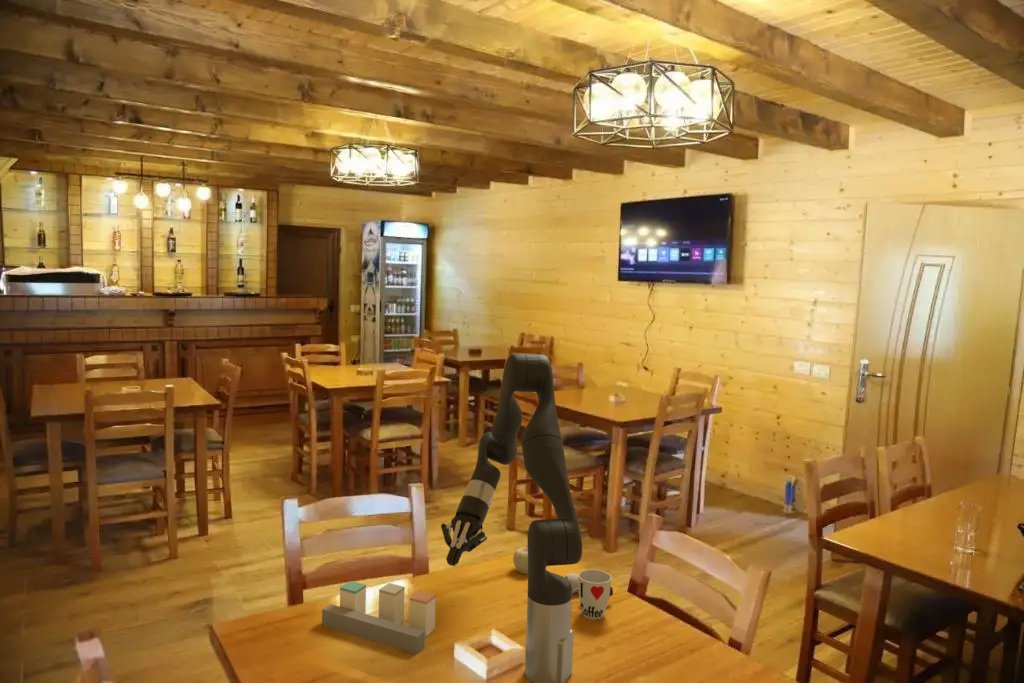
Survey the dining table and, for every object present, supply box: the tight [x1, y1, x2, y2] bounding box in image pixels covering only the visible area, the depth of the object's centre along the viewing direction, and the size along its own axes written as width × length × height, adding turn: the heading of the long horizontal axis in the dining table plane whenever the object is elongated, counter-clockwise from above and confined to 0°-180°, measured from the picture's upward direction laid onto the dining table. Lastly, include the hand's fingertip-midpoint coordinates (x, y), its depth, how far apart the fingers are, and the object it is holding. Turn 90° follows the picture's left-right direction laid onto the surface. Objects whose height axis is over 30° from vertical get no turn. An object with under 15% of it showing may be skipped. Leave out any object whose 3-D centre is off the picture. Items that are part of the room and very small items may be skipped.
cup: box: [578, 568, 612, 621], centre depth 175 cm, size 8×8×10 cm
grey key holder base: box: [321, 603, 426, 655], centre depth 165 cm, size 26×16×5 cm, turn 65°
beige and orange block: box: [408, 590, 437, 638], centre depth 162 cm, size 4×4×8 cm
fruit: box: [512, 545, 528, 575], centre depth 199 cm, size 8×7×8 cm
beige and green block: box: [339, 580, 367, 614], centre depth 166 cm, size 4×4×8 cm
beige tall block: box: [378, 582, 406, 624], centre depth 166 cm, size 4×4×8 cm
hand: (450, 564), depth 173 cm, fingers closed
